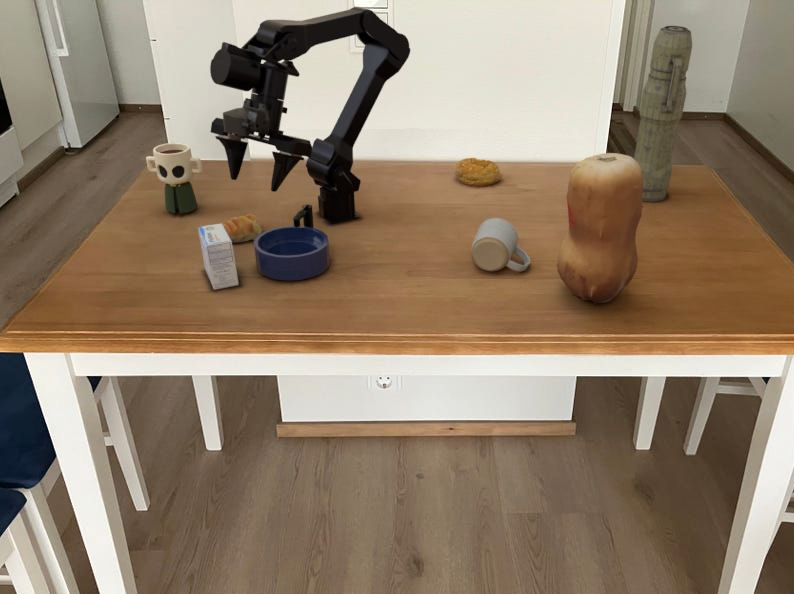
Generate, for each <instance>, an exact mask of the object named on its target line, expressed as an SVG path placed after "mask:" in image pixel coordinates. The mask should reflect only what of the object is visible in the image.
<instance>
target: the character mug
mask: <svg viewBox="0 0 794 594" xmlns="http://www.w3.org/2000/svg"><path fill="white" fill-rule="evenodd" d="M152 154H153V156H151V155H150V156H149V155H148V156H146V157H145V161H146V166H147V171H148V172H149V173H152V174H153V173H155V174H156V175H157V178H158V180H159V181H160V182H161V183H162V184H163V183H164V184H165V185H164V203H165V204H164V205H165V210H166V211H167V212H168V213H170V214H171V213H172V214H176V210H178V211H179V214H188V213H191V212H193V211H195V210H196V208H197V207H198V202H197V198H196V195H195V191H194V188H193V185H192V183H191V181H192V180H193V179H194V176H195V174H199V175H200V174H202V173H203V171H204V170H203V164H202V159H201V158H200V157H195V156H194V157H193V156H192V150H191V146H190V145H188V144H186V143H183V142H168V143H161V144H159V145H156V146H155V147H153V150H152ZM152 162H154V164H155V165H154V166H155V167H153V163H152ZM194 163H196V167H197V168H194Z"/></svg>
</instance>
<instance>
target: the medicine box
mask: <svg viewBox="0 0 794 594" xmlns="http://www.w3.org/2000/svg"><path fill="white" fill-rule="evenodd" d="M197 231H198V237H199V243H200V248H201V255H202V260H203V266H204V270H205V272H206V275H207V278H208V280H209V281H210V284H211V286H212V288H213V290H221V289H227V288H232V287H236V286H237V287H238V286H239V285H240V284H239V277H238V271H237V264H236V258H235V252H234V246H233V243H232V241H231V239H230V237H229V235H228V233H227V231H226V229H225V227H224V225H223V223H215V224H208V225H203V226H199V227H197Z"/></svg>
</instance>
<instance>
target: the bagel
mask: <svg viewBox="0 0 794 594" xmlns="http://www.w3.org/2000/svg"><path fill="white" fill-rule="evenodd" d="M453 169H454V175H456V177H457V179H458V181H459V182H461V183H463V184H464V185H466V186H467V185H468V186H473V187H487V186H489V185H492V184H493V183H497V182H500V181H501V180H502V179H503V175H502V173H501V169H500V168H499V166H498V165H497V163H496V162H494V161H491V160H489V159H488V160H486V159H478V158H476V157H466V158H463V159H460V160H459V161H457V162H456V164H455V165H454V168H453Z"/></svg>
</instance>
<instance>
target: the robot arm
mask: <svg viewBox="0 0 794 594" xmlns="http://www.w3.org/2000/svg"><path fill="white" fill-rule="evenodd" d="M353 36H356V37H357V39H358V40H359V41H360V42H361V43H362V44H363V45H364V47H363V51H362V69H361V72H360V74H359V76H358V77H357V80H356V82H355V84H354V86H353V88H352V90H351V93H350V94H349V96H348V98H347V100H346V102H345V104H344V106H343V109H342V111H341V112H340V114H339V117H338V118H337V120H336V123H335V124H334V127H332V128H333V129H332V130H331V132H330V134H329V135H328V136H327V137H326V138H324V139H321V138H319V137H317V138H315V140H314V141H313V143H311V140H309V139H304V138H301V137H297V136H293V135H287V134H284V131H283V130H280V128H281V122H282V116H283V114H288V107H285V106H284V103H285V100H286V99H285V98H286V92H287V85H288V80H289V76H290V77H297V78H299V77H300V72H299V70H298V69H297V68H296V66H295V65H294V62H293V60H295V59H297V58H299V57H301V56H303V55H305V54H307V53H308V52H309V51H310V50H311V48H313V47H315V46H317V45H318V46H319V45H322V44H325V43H329V42H333V41H336V40H341V39H345V38H348V37H353ZM410 54H411V48H410V42H409V38H407V36H406V34H403V33H400V32H398V31H397V30H396V29H394V28H393V27H392V26H390V25H389V24H388V23H386V22H385V21H384V20H382V19H381V18H380V17H379V16H378V15H377V14H376V13H375V12H374V11H373V10H372V9H369V8H364V7H361V6H354V7H352V8H349V9H346V10H342V11H337V12H334V13H329V14H325V15H321V16H316V17H312V18H308V19H303V20H293V19H266V20H264V21H262V22H260V24H259V27H258V28H257V31H256V32H255V34H254V35H252V36H251V38H249V39H248V40H247V41H246V42H245V43H244V44H243V45H242V46H241V48H240V47H238V46H237V45H235V44H232V43H229V42H225V41H222V43H221V47H220V49H218V50H217V51H216V52H215V53H214V56H213V58H212V59H211V60H210V65H209V71H210V72H209V73H210V77H211V80H212V82H213V83H214V84H216V85H219V86H222V87H227V88H230V89H234V90H239V91H243V92H249V91H250V92H251V94H250V97H249V98H247V97H245V99H244V100H243V105H242V107H236V108H233V109H230V110H226V111H223V112H222V118H221V117H215V118H214V119H213V120H212V121H211V126H210V131H209V132H210V133H212V134H216V135H215V139H216V140H218V141H219V142H220V144H221V145H222V146H223V148H224V152H225V155H226V159H227V164H228V169H229V175H230V179H231V180H232V181H237V180H238V177H239V175H240V173H241V169H242V165H243V162H244V159H245V155H246V152H247V149H248V144H249V142H247V141H244V140H245V139H247V140H251V141H254V142H259V143H262V144H265V145H269V146H274V148H275V149H276V151H271V154H272V157H273V159H274V160H273V161H274V165H273V169H272V170H273V171H272V177H271V184H270V191H271V192H276V193H277V191H278V190H279V188H280V187H281V185H282V184H283V183H284V181H285V180H286V178H287V177H288V175H289V174H290V173H291V171H292V170H293V169H294V168H295V167H296V166H297V164H298V163H299V162H300V161H305V157H306V158H307V160H306V163H305V168H306V171H307V174H308V176H309V177H310V178H312V180H313V182H314V184H315V185H316V186H319V195H318V196H317V202H318V211H317V214H318V215H319V216H320V217H321V218H323V220H325V221H326V222H327V223H328V224H330V225H334V224H339V223H344V222H347V221H352V220H357V219H359V218H360V216H359V214H358V213H356V202H355V201H356V200H355V197H356V196H355V193H356V192H359V190H360V186H361V182H362V180H361V179H360V178H359V177H358V176H356V175H355V174H354V173H353V172H352V168H353V165H354V146H355V144H356V142H357V140H358V138H359V136H360V134H361V132H362V130H363V128H364V126H365V124H366V122H367V120H368V118H369V116H370V114H371V113H372V110H373V108H374V107H375V104H376V102H377V100H378V98H379V96H380V94H381V91H382V90H383V88H384V87H385V84H386V82H387V81H389V80H390V79H392V78H393V77H394V76H395V75H396V74H398V73H400V71H401V69H402V67H403V66H404V65H405V64H406V62H407V60H409V57H410ZM262 61H264V62H263V63H262ZM281 61H282V62H281ZM255 133H257V134H255Z"/></svg>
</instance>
